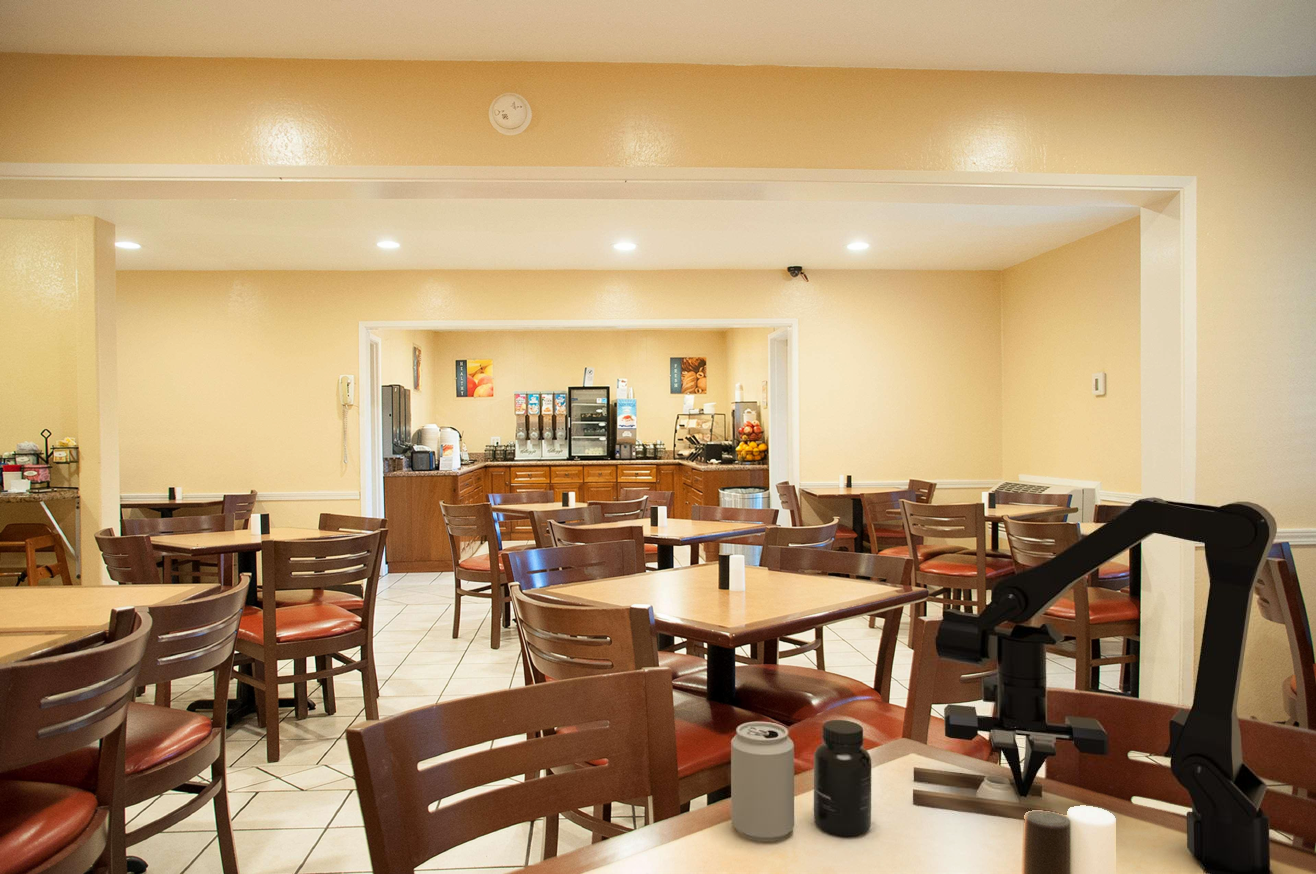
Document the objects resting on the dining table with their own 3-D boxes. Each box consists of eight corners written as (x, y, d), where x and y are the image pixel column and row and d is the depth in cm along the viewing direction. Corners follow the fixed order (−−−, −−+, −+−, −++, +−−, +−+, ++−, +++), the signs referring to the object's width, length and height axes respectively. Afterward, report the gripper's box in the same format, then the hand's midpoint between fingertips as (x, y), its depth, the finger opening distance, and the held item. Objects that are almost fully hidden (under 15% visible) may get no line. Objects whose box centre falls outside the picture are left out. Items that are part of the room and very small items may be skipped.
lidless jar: (983, 791, 105) (971, 804, 101) (983, 769, 105) (970, 780, 101) (1023, 801, 102) (1012, 815, 98) (1023, 778, 102) (1011, 791, 98)
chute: (1040, 793, 104) (1040, 782, 104) (1051, 823, 95) (1051, 810, 95) (913, 778, 109) (913, 767, 109) (912, 804, 100) (912, 792, 100)
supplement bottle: (806, 831, 93) (805, 729, 94) (822, 808, 99) (822, 713, 100) (864, 844, 90) (863, 739, 90) (877, 820, 96) (876, 721, 97)
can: (793, 847, 89) (792, 741, 90) (727, 841, 91) (727, 737, 91) (795, 818, 97) (794, 720, 97) (734, 812, 98) (734, 716, 99)
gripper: (1090, 663, 105) (1091, 780, 105) (943, 652, 111) (943, 762, 111) (1109, 687, 95) (1110, 817, 94) (944, 672, 101) (945, 795, 101)
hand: (1022, 795), depth 100 cm, fingers closed
